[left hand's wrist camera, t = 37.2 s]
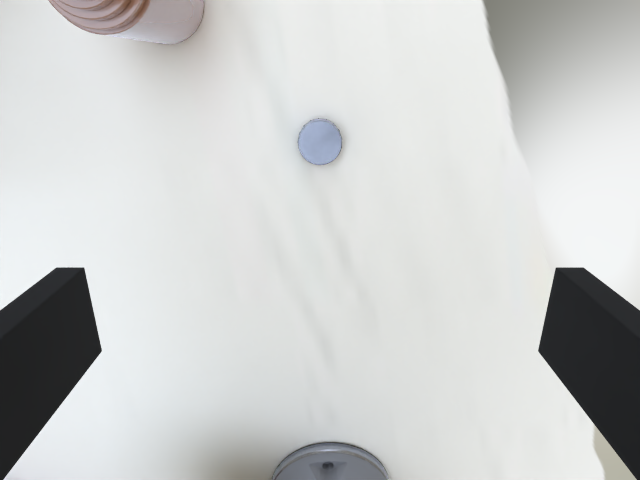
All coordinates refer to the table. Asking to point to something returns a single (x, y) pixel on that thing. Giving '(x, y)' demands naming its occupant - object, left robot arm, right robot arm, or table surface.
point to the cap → (320, 141)
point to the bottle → (135, 18)
